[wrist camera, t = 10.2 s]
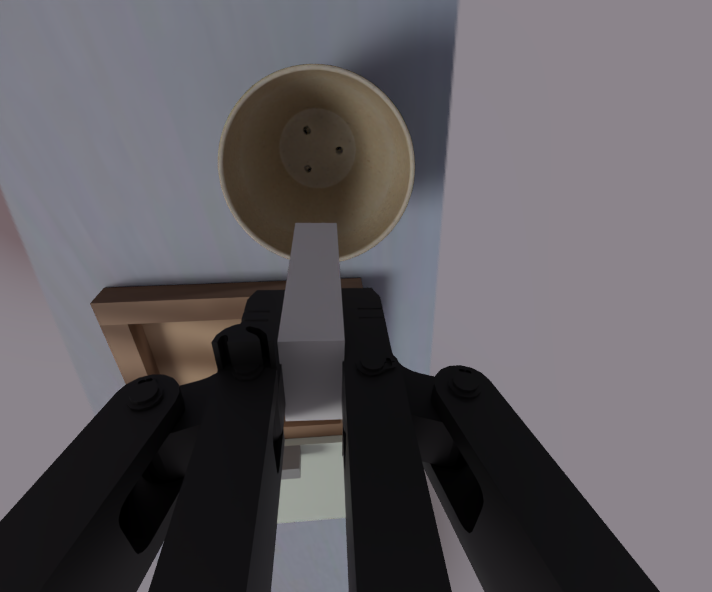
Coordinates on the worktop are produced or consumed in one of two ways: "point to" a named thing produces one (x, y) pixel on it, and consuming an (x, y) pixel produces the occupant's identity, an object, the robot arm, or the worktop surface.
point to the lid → (312, 480)
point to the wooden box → (184, 333)
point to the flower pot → (316, 158)
